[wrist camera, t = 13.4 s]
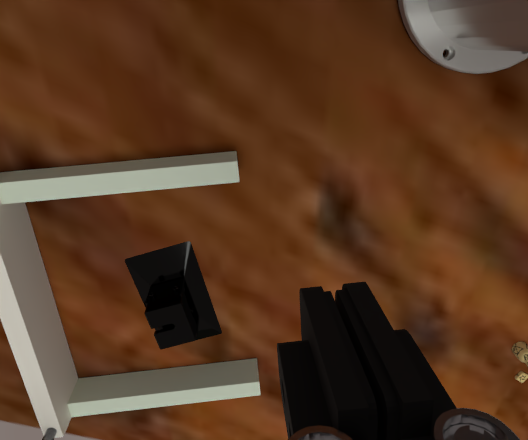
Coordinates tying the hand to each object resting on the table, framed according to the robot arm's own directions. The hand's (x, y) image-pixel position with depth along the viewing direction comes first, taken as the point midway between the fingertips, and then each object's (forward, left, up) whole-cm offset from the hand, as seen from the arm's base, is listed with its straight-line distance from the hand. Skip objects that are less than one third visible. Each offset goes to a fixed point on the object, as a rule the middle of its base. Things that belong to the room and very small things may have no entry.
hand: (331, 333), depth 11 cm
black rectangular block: (+8, +13, -24) cm, 28 cm away
